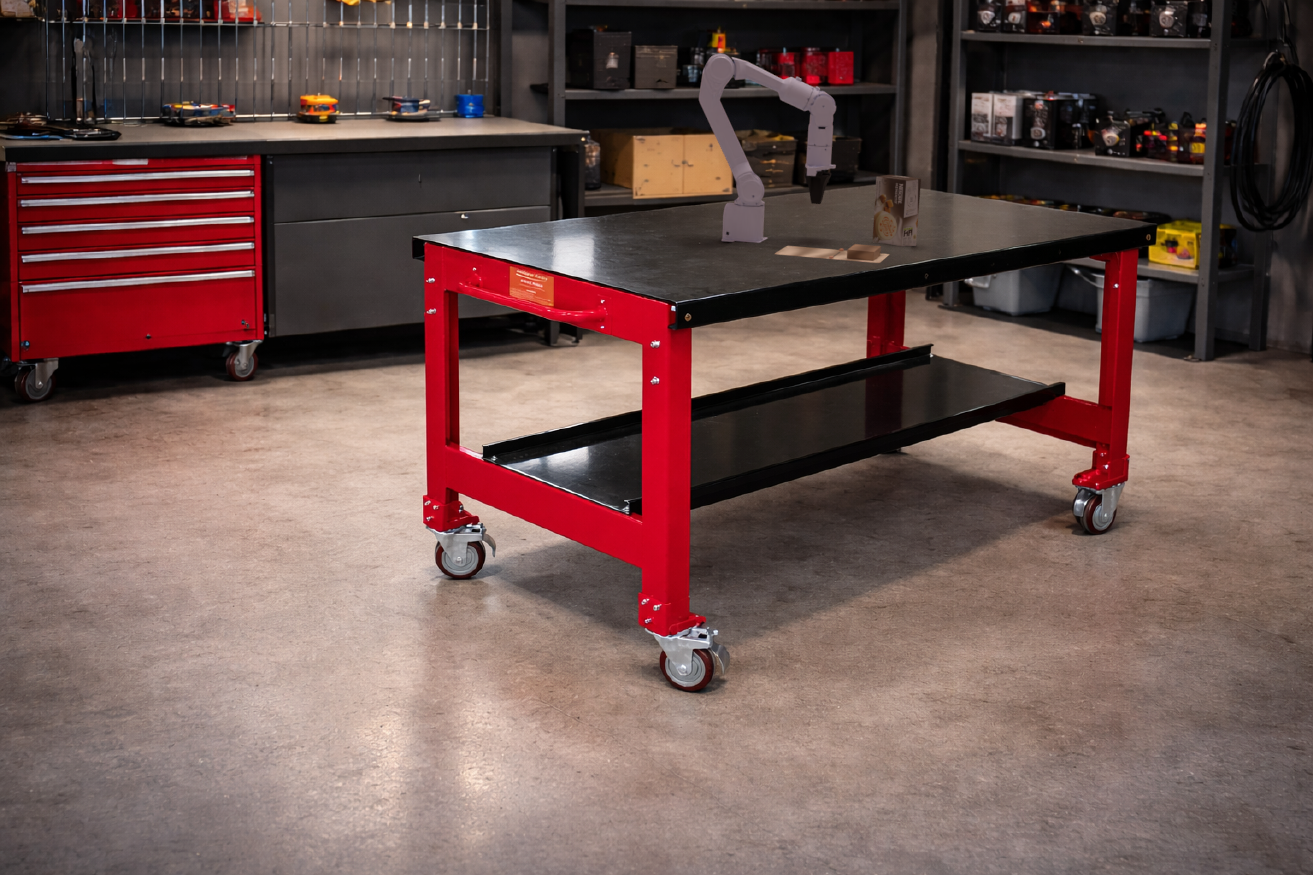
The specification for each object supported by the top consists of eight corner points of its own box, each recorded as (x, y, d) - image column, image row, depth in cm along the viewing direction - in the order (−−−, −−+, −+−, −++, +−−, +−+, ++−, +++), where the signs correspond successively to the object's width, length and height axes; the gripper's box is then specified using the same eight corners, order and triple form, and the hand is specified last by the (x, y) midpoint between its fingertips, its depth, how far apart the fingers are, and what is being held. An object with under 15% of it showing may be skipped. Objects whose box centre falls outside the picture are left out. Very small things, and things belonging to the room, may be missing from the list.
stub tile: (846, 258, 304) (847, 249, 303) (854, 252, 311) (854, 244, 310) (873, 260, 302) (874, 251, 301) (880, 255, 309) (881, 246, 309)
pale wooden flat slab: (773, 256, 307) (774, 252, 307) (787, 248, 318) (787, 244, 318) (879, 265, 300) (879, 261, 300) (889, 256, 311) (889, 252, 310)
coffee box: (917, 246, 326) (923, 178, 321) (901, 248, 321) (907, 180, 316) (886, 240, 332) (891, 174, 327) (870, 243, 328) (875, 176, 323)
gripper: (829, 149, 311) (825, 208, 315) (843, 143, 324) (839, 200, 328) (799, 147, 313) (796, 206, 317) (814, 141, 326) (810, 198, 330)
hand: (816, 203), depth 323 cm, fingers closed
